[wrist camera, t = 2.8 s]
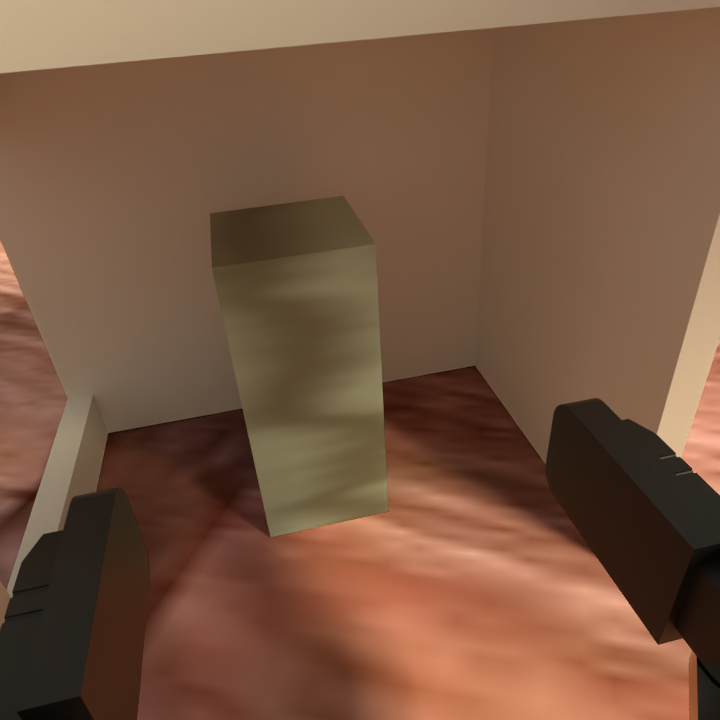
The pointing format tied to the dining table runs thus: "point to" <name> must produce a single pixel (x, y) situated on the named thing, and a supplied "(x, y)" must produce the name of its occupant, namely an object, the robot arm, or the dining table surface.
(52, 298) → the cubby
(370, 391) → the sage block
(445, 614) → the dining table surface
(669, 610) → the robot arm
